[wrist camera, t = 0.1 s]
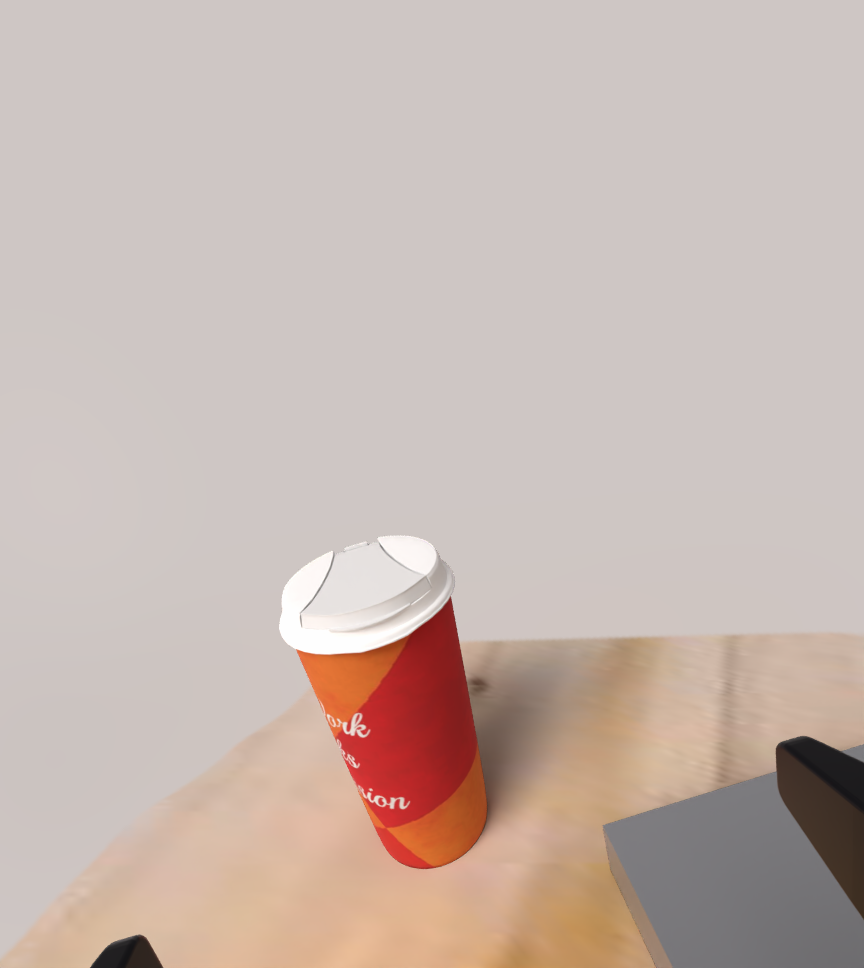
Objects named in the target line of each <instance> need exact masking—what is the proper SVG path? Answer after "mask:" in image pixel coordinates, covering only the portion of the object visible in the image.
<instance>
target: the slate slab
mask: <svg viewBox="0 0 864 968" xmlns="http://www.w3.org/2000/svg"><path fill="white" fill-rule="evenodd" d="M841 752H843V753H845V754H847V755H850V756H852V757H854V758H856V759H858V760H860V761H863V762H864V744H863V745H860V746H857V747H854V748H850V749H847V750H844V751H841ZM603 831H604V837H605V842H606V848H607V854H608V859H609V865H610V870H611V872H612V874H613V876H614V878H615V880H616V882H617V885H618V887H619V889H620V891H621V893H622V895H623V897H624V900H625V902H626V904H627V906H628V908H629V910H630V912H631V914H632V917H633V919H634V921H635V923H636V925H637V927H638V929H639V932H640V934H641V936H642V938H643V940H644V942H645V944H646V946H647V949H648V951H649V953H650V955H651V957H652V959H653V961H654V964H655V966H656V968H864V920H863V918H862V917H861V915H860V914H859V912H858V911H857V910H856V908H855V907H854V905H853V904H852V903H851V901H850V900H849V898H848V897H847V895H846V894H845V892H844V891H843V889H842V888H841V886H840V885H839V883H838V882H837V881H836V879H835V878H834V876H833V875H832V873H831V872H830V870H829V869H828V867H827V866H826V864H825V863H824V861H823V860H822V859H821V857H820V856H819V854H818V853H817V851H816V850H815V848H814V847H813V845H812V844H811V842H810V841H809V839H808V838H807V836H806V835H805V834H804V832H803V831H802V829H801V828H800V826H799V825H798V823H797V822H796V820H795V819H794V817H793V816H792V814H791V813H790V812H789V810H788V809H787V807H786V806H785V804H784V802H783V800H782V798H781V796H780V794H779V790H778V786H777V771H776V772H773V773H770V774H767V775H763V776H760V777H757V778H754V779H751V780H747V781H744V782H741V783H738V784H734V785H731V786H728V787H725V788H722V789H718V790H715V791H712V792H709V793H706V794H702V795H699V796H696V797H693V798H689V799H686V800H683V801H680V802H677V803H673V804H670V805H667V806H664V807H660V808H657V809H654V810H651V811H648V812H644V813H641V814H638V815H635V816H631V817H628V818H625V819H622V820H619V821H615V822H612V823H609V824H606V825H603Z"/></svg>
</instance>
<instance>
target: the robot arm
mask: <svg viewBox="0 0 864 968" xmlns="http://www.w3.org/2000/svg"><path fill="white" fill-rule="evenodd" d="M776 768H777V786H778V790H779V794H780V796H781V798H782V800H783V802H784V804H785V806H786V807H787V809H788V810H789V812H790V813H791V814H792V816H793V817H794V819H795V820H796V822H797V823H798V825H799V826H800V828H801V829H802V831H803V832H804V834H805V835H806V836H807V838H808V839H809V841H810V842H811V844H812V845H813V847H814V848H815V850H816V851H817V853H818V854H819V856H820V857H821V859H822V860H823V861H824V863H825V864H826V866H827V867H828V869H829V870H830V872H831V873H832V875H833V876H834V878H835V879H836V881H837V882H838V883H839V885H840V886H841V888H842V889H843V891H844V892H845V894H846V895H847V897H848V898H849V900H850V901H851V903H852V904H853V905H854V907H855V908H856V910H857V911H858V912H859V914H860V915H861V917H862V918H863V920H864V762H863V761H860V760H858V759H856V758H854V757H852V756H850V755H847V754H845V753H843V752H841V751H839V750H837V749H835V748H832V747H830V746H828V745H826V744H824V743H822V742H819V741H817V740H815V739H813V738H810V737H806V736H800V737H796V738H793V739H789V740H786V741H783V742H780V743H779V744H778V745H777V747H776ZM90 968H163V966H162V964H161V963H160V961H159V959H158V957H157V956H156V954H155V952H154V950H153V948H152V947H151V945H150V943H149V941H148V940H147V938H146V937H144V936H142V935H135V936H132V937H128V938H125V939H122V940H118V941H115V942H113V943H111V944H110V945H109V946H107V947H106V948H105V949H104V950H103V952H102V953H101V954H100V955H99V957H98V958H97V959H96V961H95V962H94V963H93V964H92V966H91V967H90Z"/></svg>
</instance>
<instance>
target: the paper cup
mask: <svg viewBox="0 0 864 968" xmlns="http://www.w3.org/2000/svg"><path fill="white" fill-rule="evenodd" d="M378 541H379V544H378V543H377V542H374V543H371V544H368V543H367V541H366V542H362V543H358V544H355V545H352V546H348V547H345V548H344V550H345V551H343V552H340V553H337V554H336V555H335V554H334V552H333V551H331V552H328V553H326V554H324V555H322V556H321V557H319V558H317V559H315V560H313V561H312V562H310V563H309V564H307V565H306V566H304V567H303V568H302V569H301V570H299V571H298V572H297V573H296V574H295V575H294V576H293V577H292V578H291V579H290V580H289V581H288V583H287V585H286V586H285V588H284V591H283V595H282V608H283V612H282V615H281V619H280V632H281V635H282V637H283V639H284V640H285V641H286V643H287V644H289V645H290V646H292V647H293V648H295V649H296V650H297V653H298V655H299V657H300V659H301V662H302V664H303V666H304V669H305V671H306V673H307V675H308V677H309V679H310V682H311V685H312V687H313V689H314V691H315V694H316V696H317V698H318V701H319V703H320V705H321V707H322V710H323V712H324V714H325V717H326V719H327V721H328V723H329V726H330V728H331V730H332V733H333V735H334V737H335V739H336V742H337V744H338V746H339V749H340V751H341V753H342V755H343V758H344V760H345V762H346V764H347V767H348V769H349V771H350V774H351V776H352V778H353V780H354V783H355V785H356V787H357V789H358V792H359V794H360V796H361V798H362V800H363V803H364V805H365V807H366V809H367V812H368V814H369V816H370V818H371V820H372V822H373V825H374V827H375V829H376V831H377V833H378V835H379V837H380V839H381V841H382V843H383V845H384V846H385V848H386V850H387V851H388V852H389V854H390V855H391V856H392V857H393V858H394V859H395V860H397V861H398V862H400V863H402V864H404V865H406V866H409V867H413V868H418V869H430V868H436V867H440V866H443V865H446V864H449V863H451V862H453V861H455V860H456V859H458V858H460V857H461V856H462V855H464V854H465V853H466V852H467V851H468V850H469V849H470V848H471V847H472V846H473V845H474V844H475V842H476V841H477V840H478V838H479V836H480V835H481V833H482V831H483V828H484V825H485V822H486V817H487V799H486V791H485V784H484V778H483V771H482V766H481V760H480V754H479V748H478V743H477V737H476V731H475V726H474V720H473V715H472V709H471V704H470V698H469V693H468V687H467V682H466V676H465V671H464V665H463V660H462V655H461V649H460V644H459V638H458V633H457V628H456V622H455V616H454V611H453V605H452V600H451V595H452V593H453V589H454V585H455V577H454V574H453V571H452V570H451V568H450V567H449V566H448V565H447V564H446V563H445V562H444V561H443V560H442V559H441V558H440V556H439V553H438V552H437V550H436V549H435V548H434V546H432V545H431V544H430V543H429V542H427V541H425V540H423V539H421V538H416V537H412V536H384V537H378ZM379 545H380V546H379Z"/></svg>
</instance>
